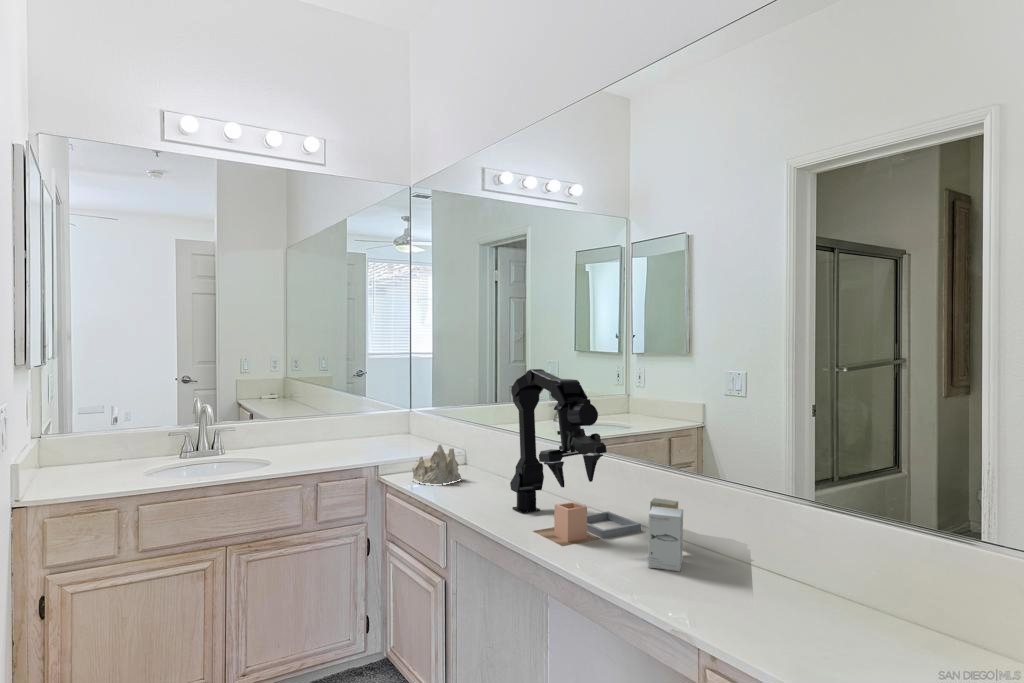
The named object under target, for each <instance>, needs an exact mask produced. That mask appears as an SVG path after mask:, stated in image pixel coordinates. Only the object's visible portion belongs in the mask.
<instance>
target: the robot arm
mask: <svg viewBox="0 0 1024 683" xmlns="http://www.w3.org/2000/svg"><path fill="white" fill-rule="evenodd" d="M510 389H511V390H510V393H511V396H512V402H513V405H514V406H515V407H516V409H517V410H518V426H519V453H520V455H519V456H520V457H519V460H518V462H517V464H516V465H515V474H514V475H513V477H512V479H511V481H510V484H509V485H510V490H511V491H512V492H515V493H516V506H512V508H511V509H512V510H514V511H515V512H516V511H517V512H518V513H521V514H528V513H535V512H539V511H541V508H538V507H537V491H543V490H542V489H543V485H544V479H545V474H544V465H547V466H548V468H549V470H550V471H551V472H552V474H553V475H554V478H555V479H556V480H557V482H558V484H559V485H560V487H561V488H565V476H564V470H563V468H564V464H565V461H562V459H563V458H566V457H573V456H579V455H582V458H583V461H584V462H583V463H584V468H585V471H586V476H587V477H586V478H587V479H588V482H589V483H591V482H592V483H593V480H594V475H595V471H596V465H597V463H598V461H599V460H600V458H601V457H603V456H604V454H606V453H608V450H607V446H606V444H605V443H604V441H602V440H601V435H600V434H599V433H597V432H596V433H591V434H590V435H586V433H585V430H584V429H585V428H582V427H591V426H593V425H594V424H596V422H597V421H598V418H599V412H598V409H597V408H596V407H595V406H594V404H592V403H591V399H589V397H588V395H587V394H586V392H585V391H584V389H583V387H582V385H581V383H580V381H579V380H578V379H573V378H560V377H558V376H557V375H553V374H551V373H549V372H547V371H545V369H543V368H542V369H541V368H539V369H537V368H536V369H535V368H533V369H528V370H526V372H525V374H523V375H522V376H520V377H519V378H517V379H516V380H515V381H514V383H513V385H511V388H510ZM543 390H546V391H549V392H550V397H551V398H553V399H554V400H555V401H556V402H557V403H556V404H555V406H554V408H553V410H554V411H557V416H558V418H557V420H558V426H559V430H557V431H556V433H557V435H558V436H559V435H560V445H559V446H558V449H552V448H551V449H546V450H541V451H540V452H539V454H538V458H537V443H536V442H537V441H536V440H537V439H536V419H535V417H536V416H535V410H536V408H537V406H538V404H539V402H540V395H541V393H542V392H543Z"/></svg>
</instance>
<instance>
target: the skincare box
mask: <svg viewBox="0 0 1024 683" xmlns="http://www.w3.org/2000/svg"><path fill="white" fill-rule="evenodd" d="M649 502H650V506H649V507H650V508H649V512H650V511H651V508H652V506H655V507H665V508H674V509H679V501H678V500H671V499H666V498H664V499H663V498H658V497H657V498H656V497H654V498H653V499H652V500H650V501H649Z"/></svg>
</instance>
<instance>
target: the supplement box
mask: <svg viewBox="0 0 1024 683" xmlns="http://www.w3.org/2000/svg"><path fill="white" fill-rule="evenodd" d="M683 536H684V509H682V508H678V509H674V508H665V507H655V506H652V508H651V511H650V510H649V514H648V556H647V557H648V561H647V562H648V563H647V564H648V565H647V566H648V568H649V569H650V568H651V569H660V570H667V571H674V572H679V573H680V572H681V569H682V563H683V551H684V550H683V545H684V543H683V542H684V541H683V540H684V538H683Z"/></svg>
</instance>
